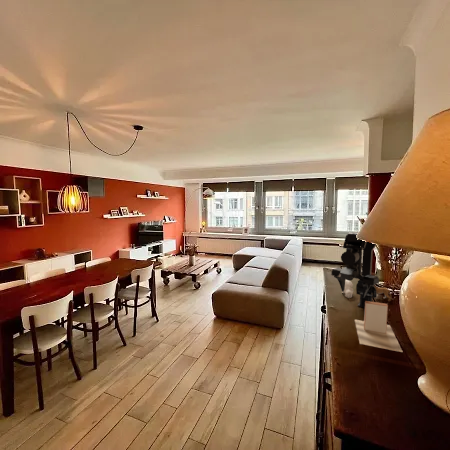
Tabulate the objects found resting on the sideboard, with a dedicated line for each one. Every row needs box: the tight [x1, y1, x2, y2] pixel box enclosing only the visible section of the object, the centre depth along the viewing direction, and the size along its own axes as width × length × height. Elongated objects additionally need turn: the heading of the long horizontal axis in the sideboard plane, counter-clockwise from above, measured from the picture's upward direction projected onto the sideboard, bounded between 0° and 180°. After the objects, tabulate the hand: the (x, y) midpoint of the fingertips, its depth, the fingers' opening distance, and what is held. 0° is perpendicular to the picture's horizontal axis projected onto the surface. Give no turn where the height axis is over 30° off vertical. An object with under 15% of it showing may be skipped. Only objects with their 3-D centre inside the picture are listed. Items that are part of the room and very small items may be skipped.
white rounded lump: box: [341, 279, 354, 299], centre depth 149 cm, size 6×8×12 cm
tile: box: [363, 301, 389, 333], centre depth 106 cm, size 2×8×12 cm, turn 67°
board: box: [354, 319, 403, 353], centre depth 104 cm, size 22×14×1 cm, turn 157°
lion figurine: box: [372, 284, 395, 302], centre depth 145 cm, size 15×5×9 cm, turn 63°
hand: (353, 294), depth 113 cm, fingers open, 9 cm apart
